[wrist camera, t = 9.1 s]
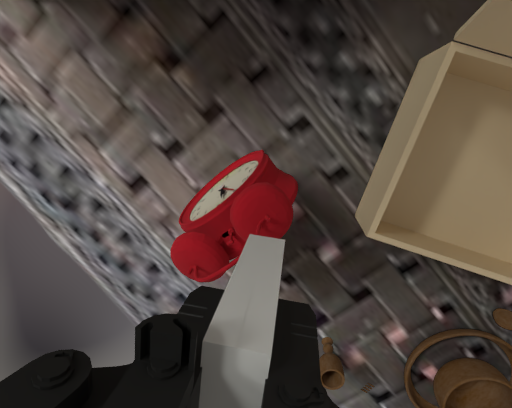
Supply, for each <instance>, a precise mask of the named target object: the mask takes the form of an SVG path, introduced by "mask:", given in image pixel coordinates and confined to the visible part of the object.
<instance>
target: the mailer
mask: <svg viewBox="0 0 512 408" xmlns="http://www.w3.org/2000/svg"><path fill="white" fill-rule="evenodd" d="M355 218H356V220H357V221H358V223H359V225H360V226H361V228H362V230H363V231H364V233H365V235H366V236H367V237H369V238H372V239H375V240H378V241H381V242H384V243H387V244H390V245H393V246H396V247H399V248H402V249H405V250H408V251H411V252H414V253H417V254H420V255H423V256H426V257H429V258H432V259H435V260H438V261H441V262H444V263H447V264H450V265H453V266H456V267H459V268H462V269H465V270H468V271H471V272H474V273H477V274H480V275H483V276H486V277H489V278H492V279H495V280H498V281H501V282H504V283H507V284H510V285H512V59H511V58H508V57H504V56H501V55H498V54H494V53H491V52H487V51H484V50H480V49H477V48H473V47H470V46H466V45H463V44H460V43H456V42H453V41H451V42H450V43H448V44H446V45H444V46H443V47H441V48H439V49H437V50H435V51H434V52H432V53H430V54H428V55H426V56H425V57H423V58H421V59H419V62H418V64H417V66H416V69H415V71H414V74H413V76H412V78H411V81H410V83H409V86H408V88H407V90H406V93H405V95H404V98H403V100H402V103H401V105H400V107H399V110H398V112H397V115H396V117H395V119H394V122H393V124H392V127H391V129H390V131H389V134H388V136H387V139H386V141H385V143H384V146H383V148H382V151H381V153H380V155H379V158H378V160H377V163H376V165H375V167H374V170H373V172H372V175H371V177H370V179H369V182H368V184H367V187H366V189H365V191H364V194H363V196H362V199H361V201H360V203H359V206H358V208H357V211H356V213H355Z"/></svg>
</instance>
